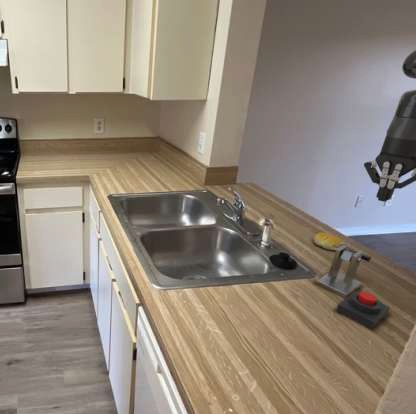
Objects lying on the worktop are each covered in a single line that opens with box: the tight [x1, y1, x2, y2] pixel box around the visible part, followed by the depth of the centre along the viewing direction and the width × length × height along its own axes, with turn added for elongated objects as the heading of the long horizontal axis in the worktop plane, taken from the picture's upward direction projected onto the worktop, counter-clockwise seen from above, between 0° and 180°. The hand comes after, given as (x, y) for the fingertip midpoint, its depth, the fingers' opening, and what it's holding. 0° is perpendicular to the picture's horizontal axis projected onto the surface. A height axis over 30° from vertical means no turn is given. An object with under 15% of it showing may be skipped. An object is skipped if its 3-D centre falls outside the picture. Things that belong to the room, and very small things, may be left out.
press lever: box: [341, 248, 372, 263], centre depth 97 cm, size 12×6×2 cm, turn 124°
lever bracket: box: [315, 244, 364, 299], centre depth 96 cm, size 10×8×12 cm
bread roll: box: [313, 232, 345, 251], centre depth 119 cm, size 8×9×4 cm
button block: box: [336, 290, 391, 330], centre depth 87 cm, size 10×8×4 cm
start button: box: [358, 291, 378, 306], centre depth 86 cm, size 4×4×2 cm
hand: (382, 200), depth 88 cm, fingers closed
